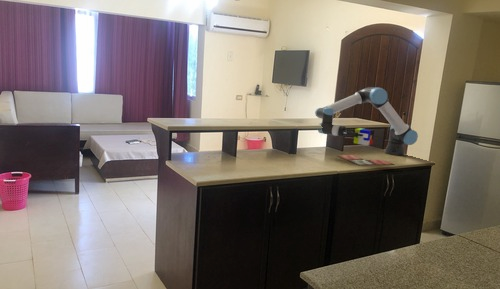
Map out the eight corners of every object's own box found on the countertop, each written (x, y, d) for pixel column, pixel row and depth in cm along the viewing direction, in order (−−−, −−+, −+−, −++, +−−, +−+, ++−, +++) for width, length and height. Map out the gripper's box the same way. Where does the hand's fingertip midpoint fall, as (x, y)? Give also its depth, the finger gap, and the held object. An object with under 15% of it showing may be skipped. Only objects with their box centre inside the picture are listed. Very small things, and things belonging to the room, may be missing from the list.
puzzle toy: (367, 145, 267) (369, 131, 265) (353, 143, 272) (355, 129, 270) (372, 144, 274) (374, 130, 273) (358, 141, 280) (360, 127, 278)
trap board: (369, 155, 299) (370, 154, 299) (394, 164, 272) (394, 164, 272) (336, 155, 290) (336, 155, 290) (358, 165, 263) (358, 164, 263)
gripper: (343, 134, 292) (373, 138, 281) (333, 137, 272) (364, 142, 261) (344, 124, 290) (374, 128, 279) (334, 127, 270) (366, 131, 260)
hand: (370, 135), depth 270 cm, fingers closed on puzzle toy, 11 cm apart
